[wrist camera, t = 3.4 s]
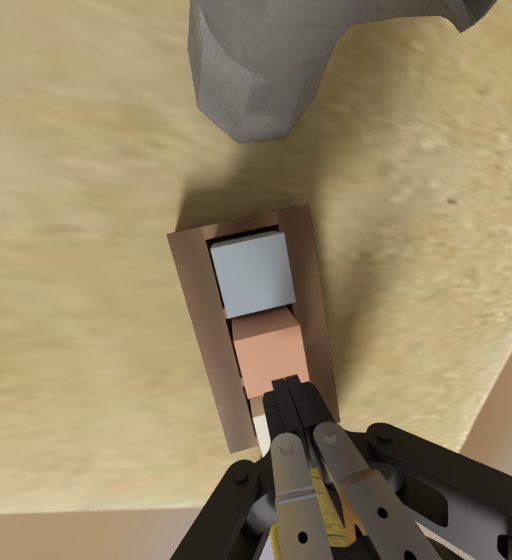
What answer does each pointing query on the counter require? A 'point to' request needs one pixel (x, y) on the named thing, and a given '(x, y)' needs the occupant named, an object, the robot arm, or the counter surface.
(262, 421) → the cream button
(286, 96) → the coffeepot
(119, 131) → the counter surface
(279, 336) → the terracotta button
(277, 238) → the slate button
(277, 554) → the sauce bottle
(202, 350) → the brown button board
